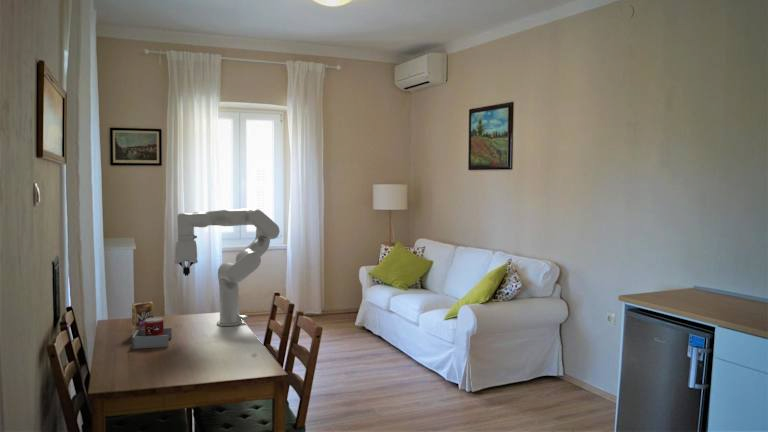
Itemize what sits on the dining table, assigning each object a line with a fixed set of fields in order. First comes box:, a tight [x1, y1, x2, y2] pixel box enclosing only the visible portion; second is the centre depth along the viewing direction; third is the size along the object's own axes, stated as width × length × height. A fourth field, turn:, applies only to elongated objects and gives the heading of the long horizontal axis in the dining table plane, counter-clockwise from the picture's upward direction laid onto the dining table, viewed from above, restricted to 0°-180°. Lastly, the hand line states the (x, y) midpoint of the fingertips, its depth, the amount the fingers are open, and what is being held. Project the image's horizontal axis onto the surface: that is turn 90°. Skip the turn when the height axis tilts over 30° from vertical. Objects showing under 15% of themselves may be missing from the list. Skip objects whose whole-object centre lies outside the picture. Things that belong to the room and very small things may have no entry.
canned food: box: [145, 316, 165, 336], centre depth 265 cm, size 8×8×11 cm
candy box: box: [131, 301, 154, 336], centre depth 281 cm, size 9×4×15 cm, turn 134°
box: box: [131, 327, 173, 350], centre depth 265 cm, size 15×15×5 cm
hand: (186, 275), depth 288 cm, fingers closed
